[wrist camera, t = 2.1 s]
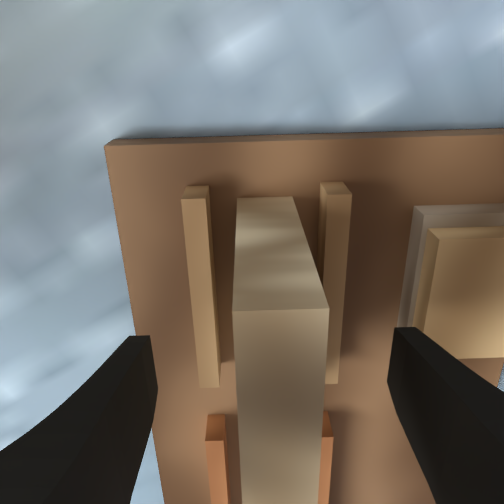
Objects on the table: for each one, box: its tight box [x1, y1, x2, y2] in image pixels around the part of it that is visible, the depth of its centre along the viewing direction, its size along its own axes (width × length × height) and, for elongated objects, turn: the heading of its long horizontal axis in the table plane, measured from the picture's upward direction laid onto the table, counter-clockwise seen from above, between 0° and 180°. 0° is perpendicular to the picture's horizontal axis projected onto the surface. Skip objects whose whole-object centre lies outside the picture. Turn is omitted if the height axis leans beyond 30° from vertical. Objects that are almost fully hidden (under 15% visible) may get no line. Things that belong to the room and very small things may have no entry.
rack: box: [104, 128, 504, 504], centre depth 19 cm, size 16×22×3 cm
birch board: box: [232, 196, 329, 504], centre depth 14 cm, size 2×7×8 cm, turn 2°
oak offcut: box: [412, 226, 504, 359], centre depth 16 cm, size 4×5×1 cm
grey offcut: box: [397, 203, 504, 327], centre depth 17 cm, size 4×6×1 cm, turn 1°
